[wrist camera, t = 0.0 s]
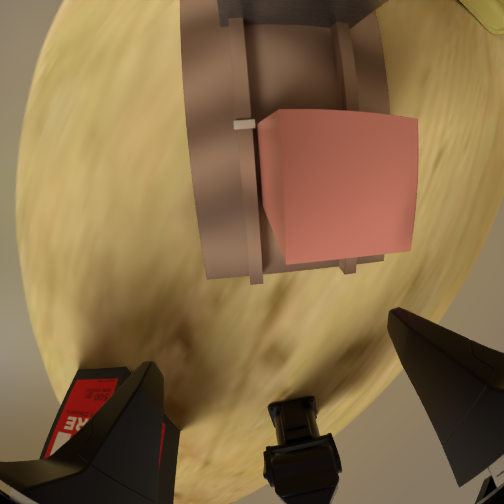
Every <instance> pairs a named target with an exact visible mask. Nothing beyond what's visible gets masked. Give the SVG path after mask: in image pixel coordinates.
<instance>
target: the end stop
mask: <svg viewBox="0 0 504 504" xmlns="http://www.w3.org/2000/svg"><path fill="white" fill-rule="evenodd" d="M387 1H388V0H217V3H218V11H219V19H220V27H224V26H229V24H228V18H243V25H260V24H280V25H303V26H315V27H325V28H330V27H331V26H332V25H333V24H334V23H335V22H342V23H348V24H349V29H351V28H352V27H354V26H355V25H356V24H357V23H359V22H360V21H361V20H363V19H364V18H365V17H366V16H368V15H369V14H370V13H372V12H373V11H374V10H376V9H377V8H379V7H380V6H381V5H383V4H384V3H385V2H387Z"/></svg>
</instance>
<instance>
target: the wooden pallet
mask: <svg viewBox="0 0 504 504" xmlns="http://www.w3.org/2000/svg"><path fill="white" fill-rule="evenodd" d="M228 24H229V26H224V27H220V19H219V11H218V3H217V0H180V31H181V56H182V74H183V89H184V102H185V114H186V126H187V136H188V146H189V155H190V164H191V173H192V181H193V189H194V197H195V205H196V212H197V219H198V226H199V233H200V239H201V246H202V252H203V259H204V265H205V271H206V277H207V279H219V278H230V277H241V276H250V283H251V285H253V284H263V274H272V273H282V272H292V271H301V270H311V269H320V268H329V267H338V266H339V267H340V269H341V270H342V271H343V273H344V274H352V273H356V264H363V263H371V262H379V261H384V254H381V255H372V256H363V257H354V258H345V259H336V260H327V261H317V262H307V263H298V264H288V265H286V263H285V260H284V258H283V255H282V253H281V250H280V248H279V245H278V243H277V240H276V237H275V235H274V232H273V230H272V227H271V225H270V222H269V220H268V218H267V215H266V213H265V210H264V208H263V205H262V191H261V177H260V163H259V149H258V136H257V124H258V123H259V122H261V121H262V120H264V119H265V118H267V117H268V116H269V115H271V114H272V113H274V112H275V111H277V110H278V109H324V110H344V111H358V112H369V113H379V114H387V115H390V113H389V99H388V88H387V78H386V70H385V63H384V56H383V50H382V44H381V38H380V33H379V28H378V23H377V18H376V14H375V10H374V11H373V12H372V13H370V14H369V15H368V16H366V17H365V18H364V19H363V20H361V21H360V22H359V23H357V24H356V25H355V26H354V27H352V28H351V29H349V24H348V23H342V22H335V23H334V24H333V25H332V26H331V27H330V28H325V27H315V26H303V25H280V24H260V25H243V18H228Z"/></svg>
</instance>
